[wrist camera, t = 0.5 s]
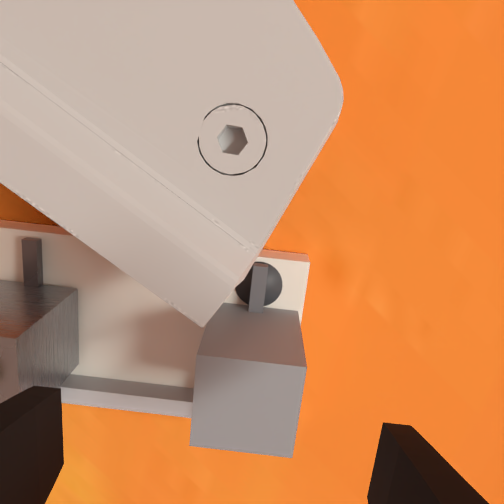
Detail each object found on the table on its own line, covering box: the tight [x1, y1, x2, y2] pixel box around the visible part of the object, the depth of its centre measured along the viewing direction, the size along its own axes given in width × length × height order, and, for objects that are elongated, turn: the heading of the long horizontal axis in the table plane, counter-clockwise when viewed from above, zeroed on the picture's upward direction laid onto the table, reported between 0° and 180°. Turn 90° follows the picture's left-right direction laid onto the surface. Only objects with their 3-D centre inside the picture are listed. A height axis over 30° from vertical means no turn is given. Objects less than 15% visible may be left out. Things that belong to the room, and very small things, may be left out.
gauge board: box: [0, 220, 310, 458], centre depth 17 cm, size 22×8×6 cm, turn 84°
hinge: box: [0, 0, 343, 328], centre depth 13 cm, size 17×5×10 cm
